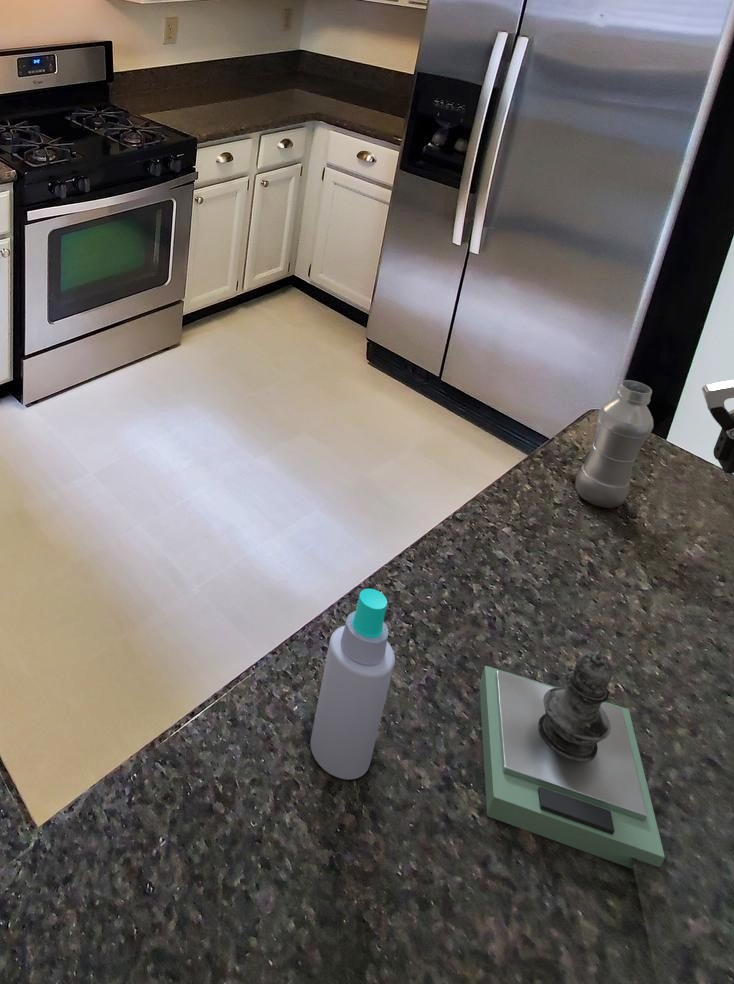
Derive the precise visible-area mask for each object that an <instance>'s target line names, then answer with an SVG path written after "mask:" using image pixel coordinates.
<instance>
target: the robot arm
mask: <svg viewBox="0 0 734 984" xmlns="http://www.w3.org/2000/svg"><path fill="white" fill-rule="evenodd" d="M701 390H702V394H703V397H704V400H705V403H706V406H707V409H708V411H709V413H710V414H711V417H712V418H713V419H714V420H715V422H716V423H717V424H718V426H720V429H721V430H720V432H719V435H718V437H717V440H716V442H715V445H714V448H713V457H714V458H715V460H717V461H718V463H719V465H720V467H721V468H722V470H723V472H724V474H729V475H732V474H734V408H733V409H731V410H729V411H728V409H726V407H725V402H726V401H727V400H729V399H734V379H731V380H726V381H720V382H714V383H709V384H705V385H703V386H702V388H701Z"/></svg>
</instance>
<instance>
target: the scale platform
mask: <svg viewBox="0 0 734 984" xmlns="http://www.w3.org/2000/svg"><path fill="white" fill-rule="evenodd" d="M495 677H496V689H497V702H498V714H499V727H500V739H501V752H502V765H503V772H504V773H507V774H510V775H512V776H515V777H518V778H521V779H524V780H527V781H530V782H533V783H536V784H539V785H541V786H544V787H547V788H550V789H553V790H556V791H559V792H562V793H565V794H568V795H571V796H573V797H576V798H579V799H582V800H585V801H588V802H591V803H594V804H597V805H600V806H602V807H605V808H608V809H611V810H614V811H617V812H620V813H623V814H626V815H629V816H631V817H634V818H637V819H640V820H643V821H645V820H646V817H647V813H646V809H645V804H644V800H643V796H642V792H641V788H640V783H639V779H638V775H637V771H636V766H635V762H634V758H633V754H632V749H631V745H630V741H629V737H628V733H627V728H626V724H625V720H624V716H623V711H622V709H621V708H618V707H615V706H612V705H608V704H605V703H601V708H602V709H603V710H604V711H605V713H606V714H607V716H608V718H609V720H610V725H611V729H610V734H609V735H608V736H607V737H606V738H605V739H603V740H601V741H599V742H597V747H598V750H597V754H596V756H595V757H594V758H593V759H591V760H589V761H583V762H581V761H574V760H572V759H569V758H566V757H564V756H562V755H560V754H559V753H557V752H556V751H555V750H553V749H552V748H551V747H550V746H549V745H548V744H547V743H546V742H545V740H544V739H543V737H542V736H541V734H540V731H539V726H538V723H539V720H540V718H541V717H542V715H544V714H546V713H545V707H544V702H543V699H544V696H545V694H546V692H547V691H548V690H550V689H552V688H553V687H549V686H546V685H543V684H539V683H536V682H533V681H530V680H526V679H523V678H520V677H516V676H513V675H510V674H507V673H503V672H500V671H497V672H496V675H495Z"/></svg>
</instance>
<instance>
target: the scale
mask: <svg viewBox="0 0 734 984" xmlns="http://www.w3.org/2000/svg"><path fill="white" fill-rule="evenodd" d="M497 671H500V672H503V673H507V674H510V675H513V676H516V677H520V678H523V679H526V680H530V681H533V682H536V683H539V684H543V685H546V686H549V687H553V688H556V687H557V686H554V685H551V684H547V683H544V682H540V681H537V680H535V679H531V678H529V677H524V676H521V675H518V674H515V673H512V672H508V671H505V670H501V669H498V668H495V667H491V666H488V665H484V667H483V670H482V674H481V677H480V680H479V684H478V687H479V702H480V703H479V704H480V717H481V722H480V723H481V735H482V736H481V738H482V754H483V770H484V771H483V772H484V773H483V774H484V789H485V805H486V807H485V808H486V816H487V817H488V818H491V819H494V820H497V821H499V822H502V823H505V824H508V825H510V826H513V827H516V828H519V829H521V830H523V831H526V832H529V833H532V834H535V835H537V836H540V837H544V838H546V839H549V840H551V841H554V842H557V843H560V844H563V845H566V846H568V847H570V848H573V849H576V850H579V851H582V852H584V853H587V854H590V855H592V856H595V857H598V858H601V859H604V860H606V861H609V862H612V863H614V864H617V865H619V866H622V867H625V868H628V869H630V870H635V866H634V862H633V859H635V860H638V861H640V862H644V863H647V864H649V865H652V866H654V867H658V868H661V866H662V865H663V863H664V861H665V859H666V855H665V851H664V848H663V843H662V840H661V835H660V832H659V827H658V824H657V823H658V822H657V818H656V815H655V811H654V810H655V809H654V807H653V803H652V799H651V794H650V790H649V787H648V781H647V779H646V778H647V777H646V774H645V770H644V766H643V762H642V758H641V753H640V749H639V745H638V741H637V737H636V734H635V730H634V729H635V728H634V725H633V720H632V717H631V713H630V709H629V708H626V707H622V706H620V705H617V704H613V703H610V702H607V701H605V702H603V703H605V704H608V705H612V706H615V707H618V708H621V709H622V711H623V716H624V720H625V724H626V728H627V733H628V737H629V741H630V745H631V749H632V754H633V758H634V762H635V766H636V771H637V775H638V779H639V783H640V788H641V792H642V796H643V800H644V804H645V809H646V813H647V817H646V820H645V821H643V820H640V819H637V818H634V817H631V816H629V815H626V814H623V813H620V812H617V811H614V810H611V809H608V808H605V807H602V806H600V805H597V804H594V803H591V802H588V801H585V800H582V799H579V798H576V797H573V796H571V795H568V794H565V793H562V792H559V791H556V790H553V789H550V788H547V787H544V786H541V785H539V784H536V783H533V782H530V781H527V780H524V779H521V778H518V777H515V776H512V775H510V774H507V773H504V772H503V765H502V752H501V739H500V727H499V714H498V702H497V689H496V677H495V675H496V672H497Z"/></svg>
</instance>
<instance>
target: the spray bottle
mask: <svg viewBox="0 0 734 984" xmlns="http://www.w3.org/2000/svg"><path fill="white" fill-rule="evenodd" d="M387 607H388V599H387V597H386V596H385V595H384V594H383V593H382V592H381V591H379V590H377V589H374V588H364V589H362V590H361V591H360V592H359V596H358V599H357V604H356V608H355V611H352V612H350V613H349V614H348V616H347V618H346V621H345V623H344V625H341V626H339V627H338V628H336V629H335V630H334V631H333V632H332V634H331V636H330V638H329V642H328V648H327V653H326V658H325V664H324V669H323V674H322V678H321V679H322V680H321V685H320V688H319V695H318V700H317V705H316V710H315V714H314V715H315V716H314V720H313V726H312V731H311V735H310V750H311V751H310V752H311V753H312V756H313V758H314V760H315V761H316V763H317V765H318V766H319V767H321V768H322V769H323V770H324V771H325V772H326V773H327V774H329V775H331V776H333V777H335V778H337V779H342V780H346V781H347V780H356V779H359V778H361V777H363V776H364V775H365V774H366V773H367V772H368V770H369V768H370V765H371V761H372V758H373V754H374V749H375V745H376V741H377V738H378V733H379V730H380V725H381V722H382V717H383V713H384V708H385V704H386V700H387V697H388V692H389V688H390V684H391V680H392V676H393V672H394V668H395V664H396V656H395V651H394V648H393V647H392V646H391V644H390V643H389V641H388V638H389V627H388V625H387V624H386V622H385V617H386V612H387Z"/></svg>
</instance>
